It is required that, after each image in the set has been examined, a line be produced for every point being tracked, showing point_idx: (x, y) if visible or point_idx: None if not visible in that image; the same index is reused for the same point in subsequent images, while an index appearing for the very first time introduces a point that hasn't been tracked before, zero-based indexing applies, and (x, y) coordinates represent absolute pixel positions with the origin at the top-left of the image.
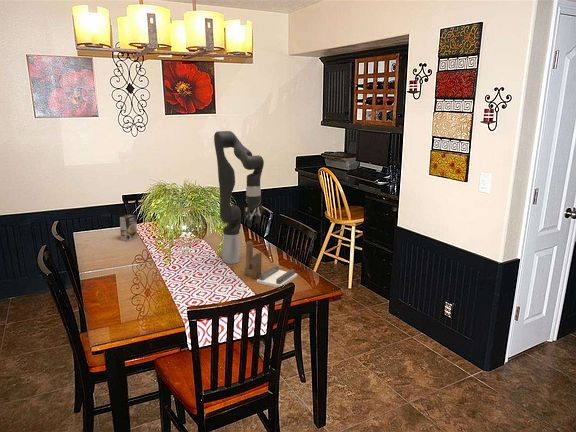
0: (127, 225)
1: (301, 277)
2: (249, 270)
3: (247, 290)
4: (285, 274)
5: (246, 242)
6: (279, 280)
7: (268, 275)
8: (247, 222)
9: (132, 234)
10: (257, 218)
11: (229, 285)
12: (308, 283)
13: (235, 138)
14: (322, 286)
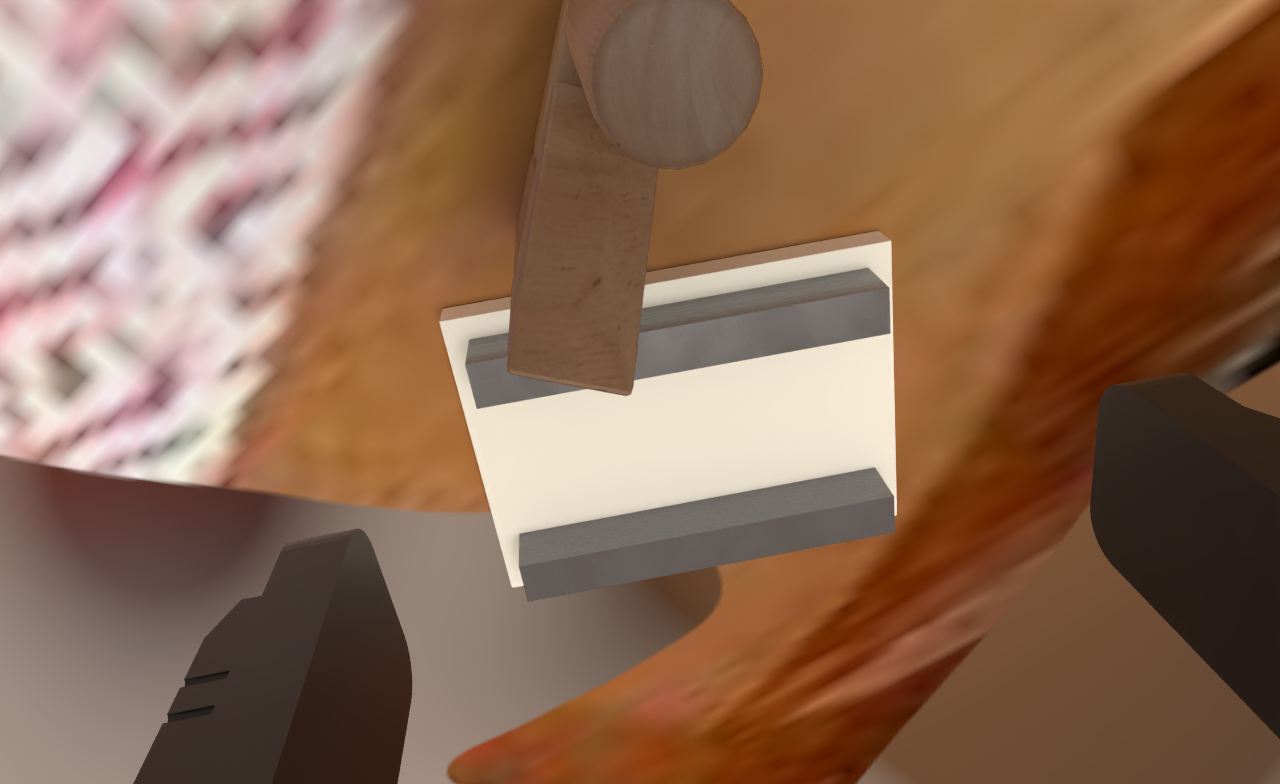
0: None
1: (885, 539)
2: (546, 93)
3: (202, 379)
4: (699, 550)
5: (619, 16)
6: (527, 592)
7: None
8: (167, 776)
9: None
10: (1269, 624)
11: (108, 107)
12: (786, 658)
13: None
14: (797, 757)
